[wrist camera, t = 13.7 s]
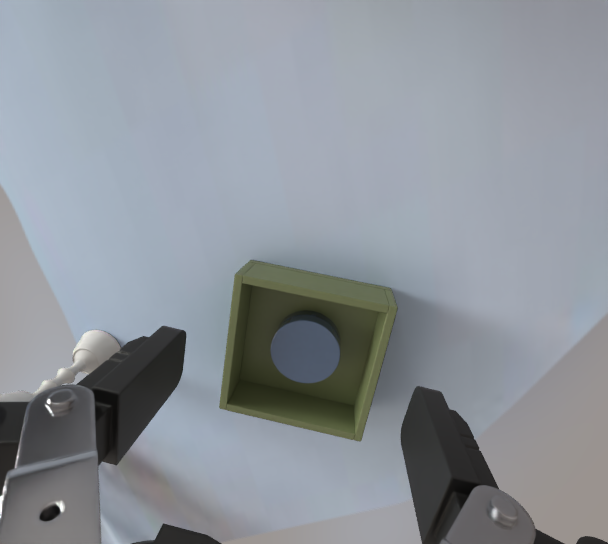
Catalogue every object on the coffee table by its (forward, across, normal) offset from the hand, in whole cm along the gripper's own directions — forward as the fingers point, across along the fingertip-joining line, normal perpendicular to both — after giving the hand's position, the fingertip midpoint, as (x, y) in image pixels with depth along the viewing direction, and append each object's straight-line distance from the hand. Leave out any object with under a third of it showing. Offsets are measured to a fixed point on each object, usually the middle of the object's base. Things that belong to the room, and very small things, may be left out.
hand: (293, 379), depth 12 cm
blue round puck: (+20, 0, +9) cm, 22 cm away
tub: (+21, 0, +9) cm, 23 cm away
